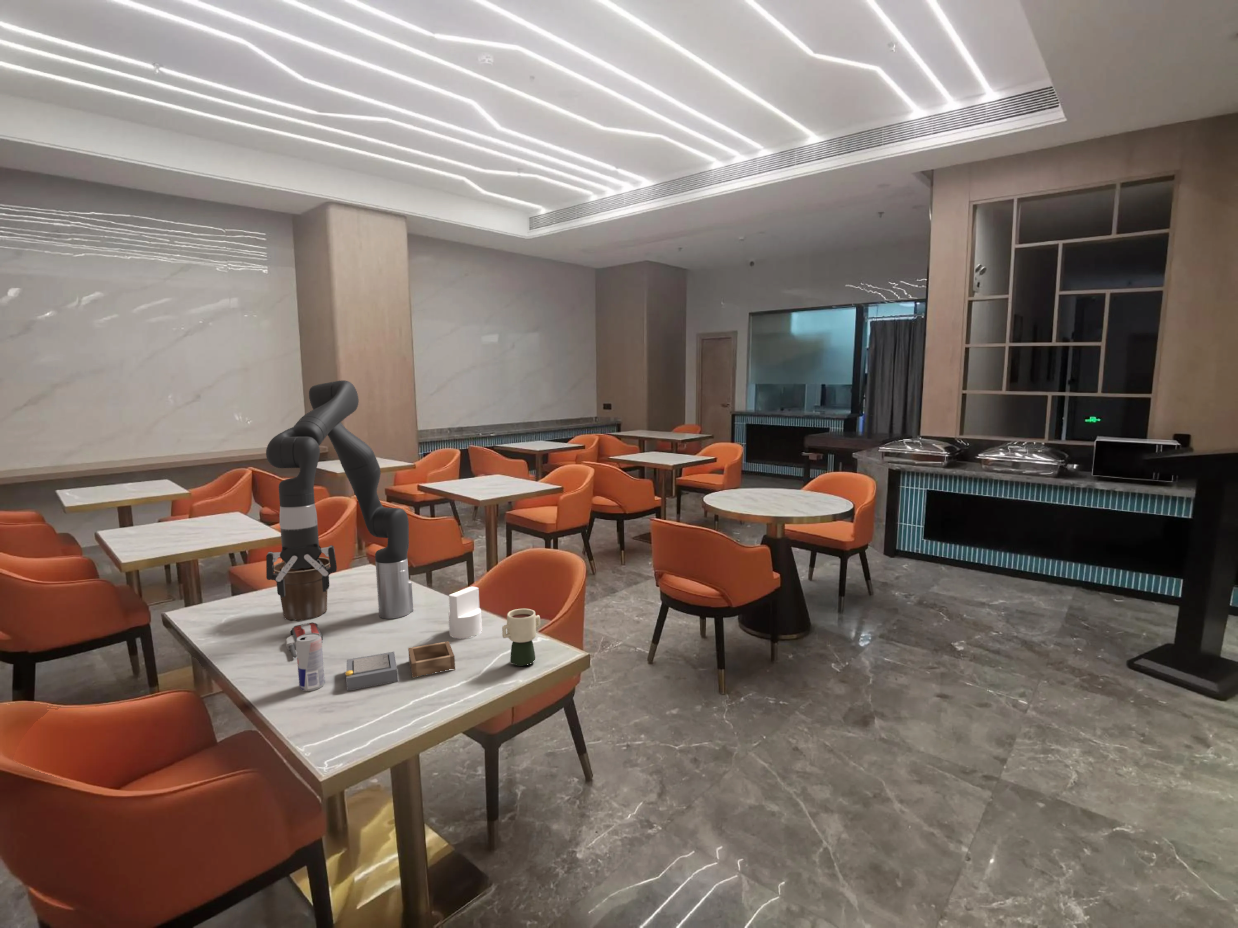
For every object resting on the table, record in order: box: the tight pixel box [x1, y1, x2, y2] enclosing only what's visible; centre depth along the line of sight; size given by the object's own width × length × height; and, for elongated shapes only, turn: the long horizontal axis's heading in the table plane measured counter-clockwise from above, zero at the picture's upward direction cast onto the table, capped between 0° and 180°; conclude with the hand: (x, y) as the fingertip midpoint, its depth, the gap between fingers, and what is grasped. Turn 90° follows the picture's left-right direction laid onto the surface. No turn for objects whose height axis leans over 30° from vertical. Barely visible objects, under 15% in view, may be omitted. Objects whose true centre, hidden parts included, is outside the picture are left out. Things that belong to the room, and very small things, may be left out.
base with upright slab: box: [448, 586, 483, 639], centre depth 175 cm, size 9×9×12 cm
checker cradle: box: [345, 651, 399, 692], centre depth 149 cm, size 11×11×4 cm
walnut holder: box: [407, 641, 456, 678], centre depth 154 cm, size 10×10×4 cm
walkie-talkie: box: [285, 622, 324, 659], centre depth 169 cm, size 9×4×20 cm
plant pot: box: [274, 556, 330, 622], centre depth 191 cm, size 16×16×16 cm
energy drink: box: [295, 633, 326, 692], centre depth 144 cm, size 5×5×12 cm
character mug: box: [501, 608, 541, 667], centre depth 154 cm, size 11×7×13 cm, turn 131°
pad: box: [353, 654, 390, 675], centre depth 149 cm, size 8×8×2 cm
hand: (304, 593), depth 142 cm, fingers open, 8 cm apart
